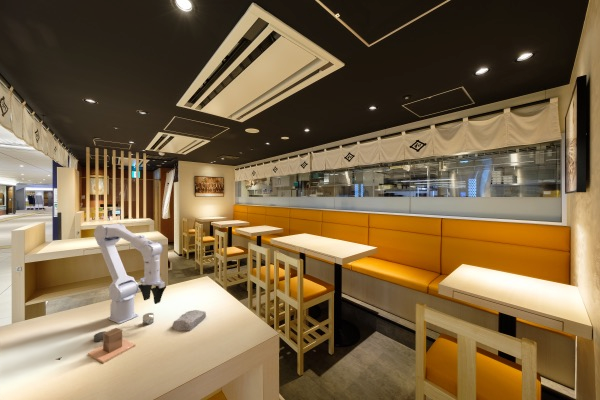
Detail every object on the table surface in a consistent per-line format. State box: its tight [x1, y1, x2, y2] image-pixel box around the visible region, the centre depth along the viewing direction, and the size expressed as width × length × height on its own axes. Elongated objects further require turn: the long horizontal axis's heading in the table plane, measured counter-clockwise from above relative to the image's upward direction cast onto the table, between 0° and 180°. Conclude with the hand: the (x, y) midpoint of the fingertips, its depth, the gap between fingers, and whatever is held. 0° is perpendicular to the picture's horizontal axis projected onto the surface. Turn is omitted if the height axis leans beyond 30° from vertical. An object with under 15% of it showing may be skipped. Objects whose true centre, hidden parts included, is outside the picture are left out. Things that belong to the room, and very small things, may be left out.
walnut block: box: [102, 327, 123, 353], centre depth 83 cm, size 4×4×6 cm
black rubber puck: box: [93, 331, 107, 343], centre depth 90 cm, size 4×4×2 cm
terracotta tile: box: [87, 338, 137, 364], centre depth 83 cm, size 10×10×1 cm
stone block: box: [172, 309, 207, 331], centre depth 102 cm, size 12×5×10 cm
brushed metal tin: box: [142, 312, 155, 326], centre depth 101 cm, size 4×4×4 cm
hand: (151, 301), depth 102 cm, fingers open, 7 cm apart
